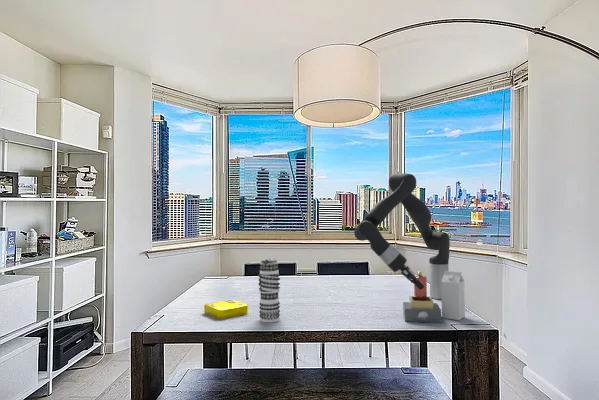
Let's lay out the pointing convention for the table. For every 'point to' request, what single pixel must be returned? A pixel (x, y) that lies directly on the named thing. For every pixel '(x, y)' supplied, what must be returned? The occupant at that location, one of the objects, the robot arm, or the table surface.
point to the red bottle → (421, 294)
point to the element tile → (225, 309)
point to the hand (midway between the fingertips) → (421, 286)
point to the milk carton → (453, 295)
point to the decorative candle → (269, 290)
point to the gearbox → (421, 311)
